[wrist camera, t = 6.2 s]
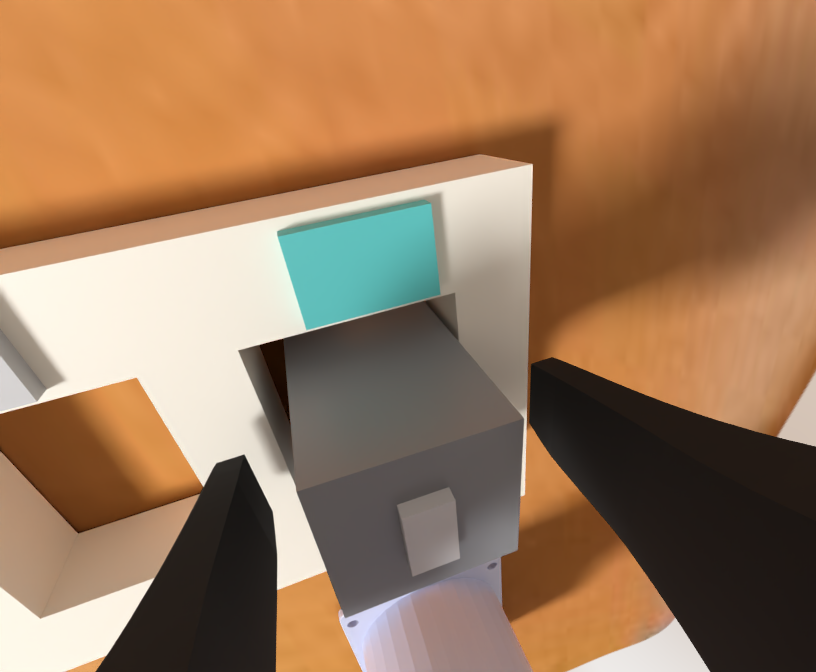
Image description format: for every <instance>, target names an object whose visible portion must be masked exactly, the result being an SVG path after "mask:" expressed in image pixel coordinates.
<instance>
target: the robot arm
mask: <svg viewBox="0 0 816 672" xmlns="http://www.w3.org/2000/svg"><path fill="white" fill-rule="evenodd" d="M529 423H530V424H531V426H532V428H533V429H534V431H535V432H536V434H537V436H538V437H539V439H540V440H541V442H542V443H543V445H544V446H545V448H546V449H547V451H548V452H549V454H550V455H551V457H552V458H553V459H554V460H555V461H556V463H557V464H558V465H559V466H560V467H561V469H562V470H563V471H564V472H565V473H566V475H567V476H568V477H569V478H570V479H571V481H572V482H573V483H574V484H575V485H576V486H577V488H578V489H579V490H580V491H581V492H582V493H583V495H584V496H585V497H586V498H587V499H588V501H589V502H590V503H591V504H592V505H593V506H594V508H595V509H596V510H597V511H598V512H599V513H600V515H601V516H602V517H603V518H604V519H605V520H606V522H607V523H608V524H609V525H610V526H611V528H612V529H613V530H614V531H615V533H616V534H617V535H618V536H619V538H620V539H621V540H622V541H623V543H624V544H625V545H626V547H627V548H628V549H629V551H630V552H631V554H632V555H633V556H634V558H635V559H636V561H637V562H638V564H639V565H640V566H641V568H642V569H643V571H644V572H645V573H646V575H647V576H648V578H649V579H650V581H651V582H652V583H653V585H654V586H655V588H656V589H657V591H658V592H659V594H660V595H661V597H662V598H663V600H664V601H665V603H666V604H667V606H668V607H669V609H670V610H671V612H672V613H673V615H674V616H675V618H676V619H677V621H678V622H679V623H680V625H681V626H682V628H683V630H684V631H685V633H686V634H687V636H688V637H689V639H690V641H691V642H692V644H693V645H694V647H695V648H696V650H697V651H698V653H699V655H700V656H701V658H702V659H703V661H704V663H705V664H706V666H707V667H708V669H709V670H710V672H816V447H815V446H811V445H807V444H803V443H798V442H794V441H789V440H786V439H782V438H778V437H774V436H770V435H766V434H762V433H759V432H755V431H752V430H748V429H745V428H741V427H738V426H735V425H731V424H728V423H724V422H721V421H718V420H714V419H711V418H708V417H705V416H702V415H699V414H696V413H693V412H690V411H688V410H685V409H682V408H679V407H676V406H674V405H671V404H668V403H665V402H662V401H660V400H657V399H654V398H652V397H649V396H647V395H644V394H642V393H639V392H636V391H634V390H631V389H629V388H627V387H624V386H622V385H619V384H617V383H614V382H612V381H609V380H607V379H605V378H602V377H600V376H598V375H595V374H593V373H590V372H588V371H586V370H583V369H581V368H578V367H576V366H574V365H571V364H569V363H566V362H563V361H561V360H558V359H555V358H553V357H551V358H548V359H545V360H542V361H539V362H536V363H532V364H531V386H530V421H529ZM338 613H339V621H340V624H341V626H342V628H343V630H344V632H345V635H346V637H347V639H348V641H349V643H350V645H351V647H352V650H353V652H354V654H355V656H356V658H357V660H358V663H359V665H360V667H361V669H362V671H363V672H533V670H532V668H531V666H530V664H529V662H528V660H527V658H526V656H525V654H524V652H523V650H522V648H521V645H520V643H519V641H518V639H517V637H516V635H515V633H514V631H513V629H512V627H511V625H510V623H509V621H508V618H507V616H506V614H505V612H504V610H503V608H502V581H501V557H499V558H497V559H494V560H492V561H489V562H487V563H484V564H482V565H479V566H477V567H474V568H471V569H469V570H466V571H464V572H461V573H459V574H456V575H454V576H451V577H449V578H446V579H444V580H441V581H439V582H436V583H434V584H431V585H428V586H426V587H423V588H421V589H418V590H416V591H413V592H411V593H408V594H406V595H403V596H401V597H398V598H396V599H393V600H391V601H388V602H385V603H383V604H380V605H378V606H375V607H373V608H370V609H368V610H365V611H363V612H360V613H358V614H355V615H353V616H350V617H348V618H345V617H344V614H343V612H342V609H340V611H339V612H338ZM276 622H277V546H276V535H275V526H274V517H273V511H272V509H271V507H270V505H269V503H268V501H267V499H266V497H265V495H264V493H263V491H262V489H261V487H260V485H259V483H258V481H257V479H256V477H255V475H254V473H253V471H252V469H251V467H250V465H249V463H248V461H247V458H246V456H245V454H244V455H241V456H238V457H234V458H231V459H228V460H225V461H222V462H218V463H216V464H215V466H214V468H213V469H212V471H211V473H210V475H209V477H208V479H207V481H206V483H205V485H204V487H203V489H202V491H201V493H200V495H199V497H198V499H197V501H196V503H195V505H194V507H193V509H192V511H191V512H190V514H189V516H188V518H187V520H186V522H185V524H184V526H183V528H182V530H181V531H180V533H179V535H178V537H177V539H176V541H175V542H174V544H173V546H172V548H171V550H170V552H169V553H168V555H167V557H166V559H165V561H164V563H163V564H162V566H161V568H160V570H159V571H158V573H157V575H156V576H155V578H154V580H153V581H152V583H151V585H150V587H149V588H148V590H147V592H146V593H145V595H144V597H143V598H142V600H141V602H140V603H139V605H138V607H137V608H136V610H135V612H134V613H133V615H132V617H131V618H130V620H129V621H128V623H127V625H126V626H125V628H124V629H123V631H122V632H121V634H120V636H119V637H118V639H117V640H116V642H115V643H114V645H113V646H112V648H111V649H110V651H109V653H108V654H107V656H106V657H105V659H104V660H103V662H102V663H101V665H100V666H99V667H98V669H97V670H96V672H276Z"/></svg>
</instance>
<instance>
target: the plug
mask: <svg viewBox="0 0 816 672" xmlns="http://www.w3.org/2000/svg"><path fill="white" fill-rule="evenodd" d="M283 339H284V351H285V363H286V375H287V387H288V399H289V411H290V423H291V435H292V447H293V459H294V471H295V483H296V492H297V495H298V498H299V500H300V503H301V505H302V508H303V511H304V513H305V516H306V518H307V521H308V524H309V526H310V529H311V531H312V534H313V537H314V539H315V542H316V544H317V547H318V549H319V552H320V555H321V557H322V560H323V562H324V565H325V568H326V570H327V573H328V575H329V578H330V581H331V583H332V586H333V588H334V591H335V594H336V596H337V599H338V601H339V604H340V607H341V609H342V612H343V614H344V617H345V618H348V617H350V616H353V615H355V614H358V613H360V612H363V611H365V610H368V609H370V608H373V607H375V606H378V605H380V604H383V603H385V602H388V601H391V600H393V599H396V598H398V597H401V596H403V595H406V594H408V593H411V592H413V591H416V590H418V589H421V588H423V587H426V586H428V585H431V584H434V583H436V582H439V581H441V580H444V579H446V578H449V577H451V576H454V575H456V574H459V573H461V572H464V571H466V570H469V569H471V568H474V567H477V566H479V565H482V564H484V563H487V562H489V561H492V560H494V559H497V558H499V557H502V556H504V555H507V554H509V553H512V552H514V551H517V550H518V535H519V514H520V494H521V474H522V453H523V433H524V418H523V416H522V415H521V414H520V413H519V412H518V411H517V409H516V408H515V407H514V406H513V405H512V403H511V402H510V401H509V400H508V399H507V398H506V396H505V395H504V394H503V393H502V392H501V391H500V389H499V388H498V387H497V386H496V385H495V384H494V382H493V381H492V380H491V379H490V378H489V377H488V375H487V374H486V373H485V372H484V371H483V369H482V368H481V367H480V366H479V365H478V364H477V362H476V361H475V360H474V359H473V358H472V357H471V355H470V354H469V353H468V352H467V351H466V350H465V348H464V347H463V346H462V345H461V344H460V343H459V341H458V340H457V339H456V338H455V337H454V335H453V334H452V333H451V332H450V331H449V330H448V328H447V327H446V326H445V325H444V324H443V323H442V321H441V320H440V319H439V318H438V317H437V316H436V314H435V313H434V312H433V311H432V310H431V309H430V307H429V306H428V305H427V304H426V303H425V301H422V302H418V303H414V304H410V305H407V306H403V307H399V308H395V309H392V310H388V311H384V312H380V313H377V314H373V315H369V316H365V317H362V318H358V319H354V320H350V321H347V322H343V323H339V324H335V325H332V326H328V327H324V328H320V329H317V330H313V331H309V332H305V333H301V334H298V335H294V336H290V337H286V338H283Z"/></svg>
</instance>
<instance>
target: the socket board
mask: <svg viewBox="0 0 816 672" xmlns="http://www.w3.org/2000/svg"><path fill="white" fill-rule="evenodd" d="M532 177H533V164H530V163H525V162H520V161H514V160H509V159H504V158H498V157H493V156H488V155H482V154H478V155H473V156H468V157H463V158H458V159H453V160H448V161H443V162H438V163H433V164H428V165H423V166H418V167H413V168H408V169H403V170H397V171H392V172H387V173H382V174H377V175H372V176H367V177H362V178H357V179H352V180H347V181H342V182H337V183H332V184H327V185H322V186H317V187H312V188H306V189H301V190H296V191H291V192H286V193H281V194H276V195H271V196H266V197H261V198H256V199H251V200H246V201H241V202H236V203H231V204H226V205H221V206H215V207H210V208H205V209H200V210H195V211H190V212H185V213H180V214H175V215H170V216H165V217H160V218H155V219H150V220H145V221H140V222H135V223H130V224H125V225H119V226H114V227H109V228H104V229H99V230H94V231H89V232H84V233H79V234H74V235H69V236H64V237H59V238H54V239H49V240H44V241H39V242H34V243H28V244H23V245H18V246H13V247H8V248H3V249H0V414H1V413H5V412H9V411H12V410H16V409H20V408H24V407H27V406H31V405H35V404H39V403H42V402H46V401H50V400H54V399H57V398H61V397H65V396H69V395H73V394H76V393H80V392H84V391H88V390H91V389H95V388H99V387H103V386H106V385H110V384H114V383H118V382H121V381H125V380H129V379H133V378H136V377H137V379H138V380H139V382H140V383H141V385H142V387H143V388H144V390H145V392H146V393H147V395H148V397H149V398H150V400H151V402H152V403H153V405H154V406H155V408H156V410H157V411H158V413H159V415H160V416H161V418H162V420H163V421H164V423H165V425H166V426H167V428H168V429H169V431H170V433H171V434H172V436H173V438H174V439H175V441H176V443H177V444H178V446H179V448H180V449H181V451H182V452H183V454H184V456H185V457H186V459H187V461H188V462H189V464H190V466H191V467H192V469H193V471H194V472H195V474H196V475H197V477H198V479H199V480H200V482H201V484H202V485H203V487H204V485H205V483H206V481H207V479H208V477H209V475H210V473H211V471H212V469H213V468H214V466H215V464H216V463H218V462H222V461H225V460H228V459H231V458H234V457H238V456H241V455H244V454H245V456H246V458H247V461H248V463H249V465H250V467H251V469H252V471H253V473H254V475H255V477H256V479H257V481H258V483H259V485H260V487H261V489H262V491H263V493H264V495H265V497H266V499H267V501H268V503H269V505H270V507H271V509H272V511H273V517H274V526H275V535H276V546H277V590H278V589H281V588H284V587H286V586H289V585H291V584H294V583H297V582H299V581H302V580H304V579H307V578H310V577H312V576H315V575H317V574H320V573H323V572H325V571H327V570H326V568H325V565H324V562H323V560H322V557H321V555H320V552H319V549H318V547H317V544H316V542H315V539H314V537H313V534H312V531H311V529H310V526H309V524H308V521H307V518H306V516H305V513H304V511H303V508H302V505H301V503H300V500H299V498H298V495H297V492H296V483H295V471H294V459H293V447H292V435H291V426H290V423H289V420H288V418H287V415H286V413H285V410H284V408H283V405H282V402H281V400H280V397H279V395H278V392H277V390H276V387H275V385H274V382H273V379H272V377H271V374H270V372H269V369H268V367H267V364H266V361H265V359H264V356H263V354H262V351H261V349H260V346H259V345H260V344H264V343H268V342H271V341H275V340H279V339H283V338H286V337H290V336H294V335H298V334H301V333H305V332H309V331H313V330H317V329H320V328H324V327H328V326H332V325H335V324H339V323H343V322H347V321H350V320H354V319H358V318H362V317H365V316H369V315H373V314H377V313H380V312H384V311H388V310H392V309H395V308H399V307H403V306H407V305H410V304H414V303H418V302H422V301H425V300H426V304H427V305H428V306H429V307H430V309H431V310H432V311H433V312H434V313H435V314H436V316H437V317H438V318H439V319H440V320H441V321H442V323H443V324H444V325H445V326H446V327H447V328H448V330H449V331H450V332H451V333H452V334H453V335H454V337H455V338H456V339H457V340H458V341H459V343H460V344H461V345H462V346H463V347H464V348H465V350H466V351H467V352H468V353H469V354H470V355H471V357H472V358H473V359H474V360H475V361H476V362H477V364H478V365H479V366H480V367H481V368H482V369H483V371H484V372H485V373H486V374H487V375H488V377H489V378H490V379H491V380H492V381H493V382H494V384H495V385H496V386H497V387H498V388H499V389H500V391H501V392H502V393H503V394H504V395H505V396H506V398H507V399H508V400H509V401H510V402H511V403H512V405H513V406H514V407H515V408H516V409H517V411H518V412H519V413H520V414H521V415H522V416H523V418H524V433H523V453H522V474H521V494H520V496H523V495H525V467H526V425H527V384H528V343H529V301H530V260H531V219H532ZM199 495H200V494H198V495H195V496H192V497H189V498H186V499H183V500H180V501H177V502H173V503H170V504H167V505H164V506H161V507H158V508H155V509H152V510H149V511H146V512H143V513H140V514H137V515H134V516H131V517H128V518H125V519H121V520H118V521H115V522H112V523H109V524H106V525H103V526H100V527H97V528H94V529H91V530H88V531H85V532H82V533H79V534H78V533H77V532H76V531H75V530H74V529H73V528H72V527H71V526H70V525H69V524H68V522H67V521H66V520H65V519H64V518H63V517H62V516H61V515H60V514H59V513H58V512H57V511H56V510H55V509H54V508H53V507H52V505H51V504H50V503H49V502H48V501H47V500H46V499H45V498H44V497H43V496H42V495H41V494H40V493H39V492H38V491H37V490H36V488H35V487H34V486H33V485H32V484H31V483H30V482H29V481H28V480H27V479H26V478H25V477H24V476H23V475H22V474H21V473H20V471H19V470H18V469H17V468H16V467H15V466H14V465H13V464H12V463H11V462H10V461H9V460H8V459H7V458H6V457H5V456H4V455H3V453H2V452H1V451H0V672H65V671H67V670H70V669H73V668H75V667H78V666H80V665H83V664H86V663H88V662H91V661H93V660H96V659H99V658H101V657H104V656H106V655H107V654H108V653H109V651H110V649H111V648H112V646H113V645H114V643H115V642H116V640H117V639H118V637H119V636H120V634H121V632H122V631H123V629H124V628H125V626H126V625H127V623H128V621H129V620H130V618H131V617H132V615H133V613H134V612H135V610H136V608H137V607H138V605H139V603H140V602H141V600H142V598H143V597H144V595H145V593H146V592H147V590H148V588H149V587H150V585H151V583H152V581H153V580H154V578H155V576H156V575H157V573H158V571H159V570H160V568H161V566H162V564H163V563H164V561H165V559H166V557H167V555H168V553H169V552H170V550H171V548H172V546H173V544H174V542H175V541H176V539H177V537H178V535H179V533H180V531H181V530H182V528H183V526H184V524H185V522H186V520H187V518H188V516H189V514H190V512H191V511H192V509H193V507H194V505H195V503H196V501H197V499H198V497H199Z"/></svg>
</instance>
